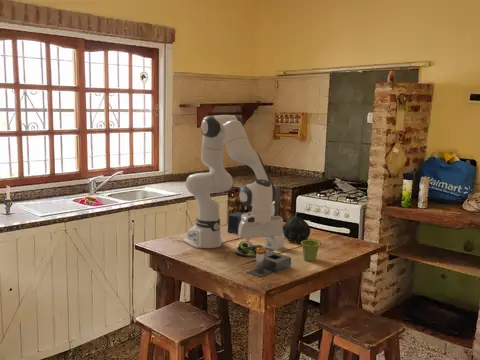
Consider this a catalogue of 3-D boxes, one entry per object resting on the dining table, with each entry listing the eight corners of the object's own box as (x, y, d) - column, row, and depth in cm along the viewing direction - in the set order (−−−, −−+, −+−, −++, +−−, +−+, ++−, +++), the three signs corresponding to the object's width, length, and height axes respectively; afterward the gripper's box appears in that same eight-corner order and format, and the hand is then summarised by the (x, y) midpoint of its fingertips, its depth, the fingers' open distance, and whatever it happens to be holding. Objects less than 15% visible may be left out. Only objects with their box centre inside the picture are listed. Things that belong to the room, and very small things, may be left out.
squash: (301, 225, 279) (289, 208, 272) (319, 233, 267) (306, 215, 260) (286, 243, 276) (273, 227, 268) (303, 252, 264) (290, 234, 256)
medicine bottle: (273, 244, 260) (274, 223, 258) (284, 247, 256) (285, 225, 254) (265, 247, 255) (266, 225, 253) (276, 250, 250) (277, 228, 248)
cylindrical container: (257, 273, 216) (257, 250, 214) (254, 270, 219) (255, 247, 217) (264, 272, 217) (265, 249, 215) (262, 270, 220) (263, 247, 218)
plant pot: (323, 260, 238) (324, 243, 236) (311, 264, 231) (312, 246, 230) (308, 255, 244) (309, 238, 243) (296, 259, 238) (297, 242, 236)
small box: (236, 234, 278) (237, 216, 276) (227, 232, 281) (227, 214, 279) (245, 230, 287) (246, 212, 285) (236, 228, 290) (236, 211, 288)
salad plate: (275, 248, 254) (276, 240, 253) (272, 260, 236) (272, 251, 236) (239, 246, 257) (239, 237, 256) (233, 257, 239) (234, 248, 239)
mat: (247, 272, 218) (247, 271, 218) (258, 268, 224) (258, 267, 224) (260, 277, 213) (260, 276, 212) (271, 272, 218) (271, 272, 218)
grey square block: (257, 266, 225) (258, 256, 225) (272, 261, 233) (273, 251, 232) (275, 273, 218) (276, 262, 217) (290, 267, 226) (291, 257, 225)
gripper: (280, 213, 220) (279, 242, 222) (237, 215, 214) (236, 245, 216) (285, 217, 214) (284, 247, 216) (241, 219, 208) (240, 249, 211)
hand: (259, 246), depth 216 cm, fingers open, 8 cm apart
